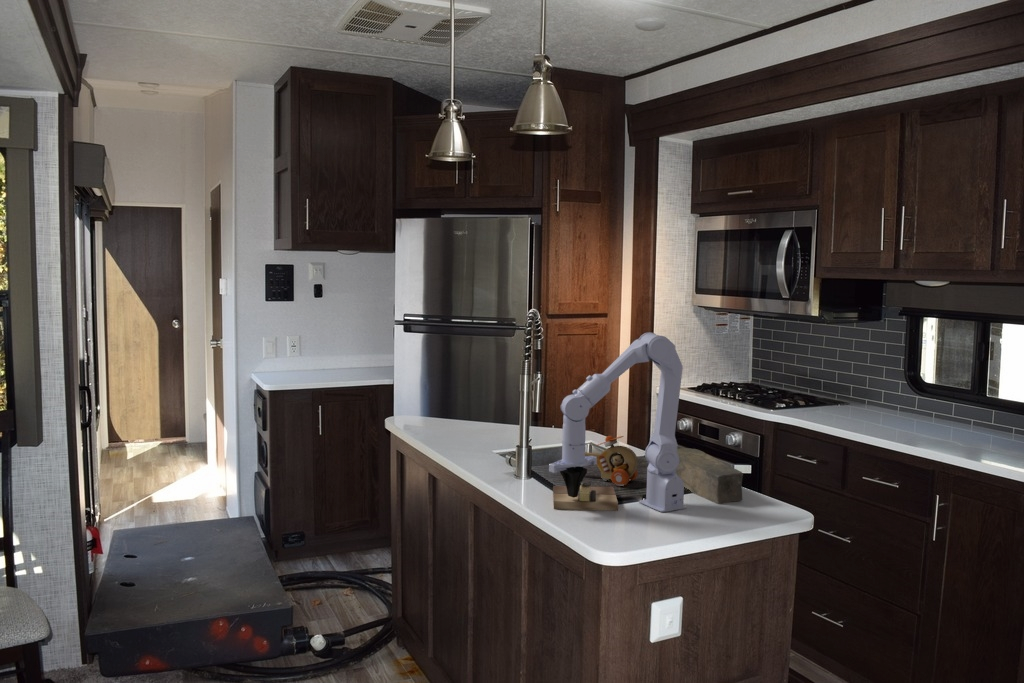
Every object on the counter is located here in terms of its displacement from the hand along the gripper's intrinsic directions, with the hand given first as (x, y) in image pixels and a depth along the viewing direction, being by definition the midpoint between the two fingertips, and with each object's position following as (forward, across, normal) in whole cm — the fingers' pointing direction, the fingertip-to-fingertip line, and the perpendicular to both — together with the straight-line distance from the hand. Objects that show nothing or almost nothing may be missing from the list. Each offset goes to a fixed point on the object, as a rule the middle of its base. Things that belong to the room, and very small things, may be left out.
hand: (572, 496), depth 208 cm
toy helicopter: (+3, +24, +13) cm, 28 cm away
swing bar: (0, +4, 0) cm, 4 cm away
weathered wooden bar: (+3, +40, -8) cm, 41 cm away
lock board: (+3, +6, +2) cm, 7 cm away
